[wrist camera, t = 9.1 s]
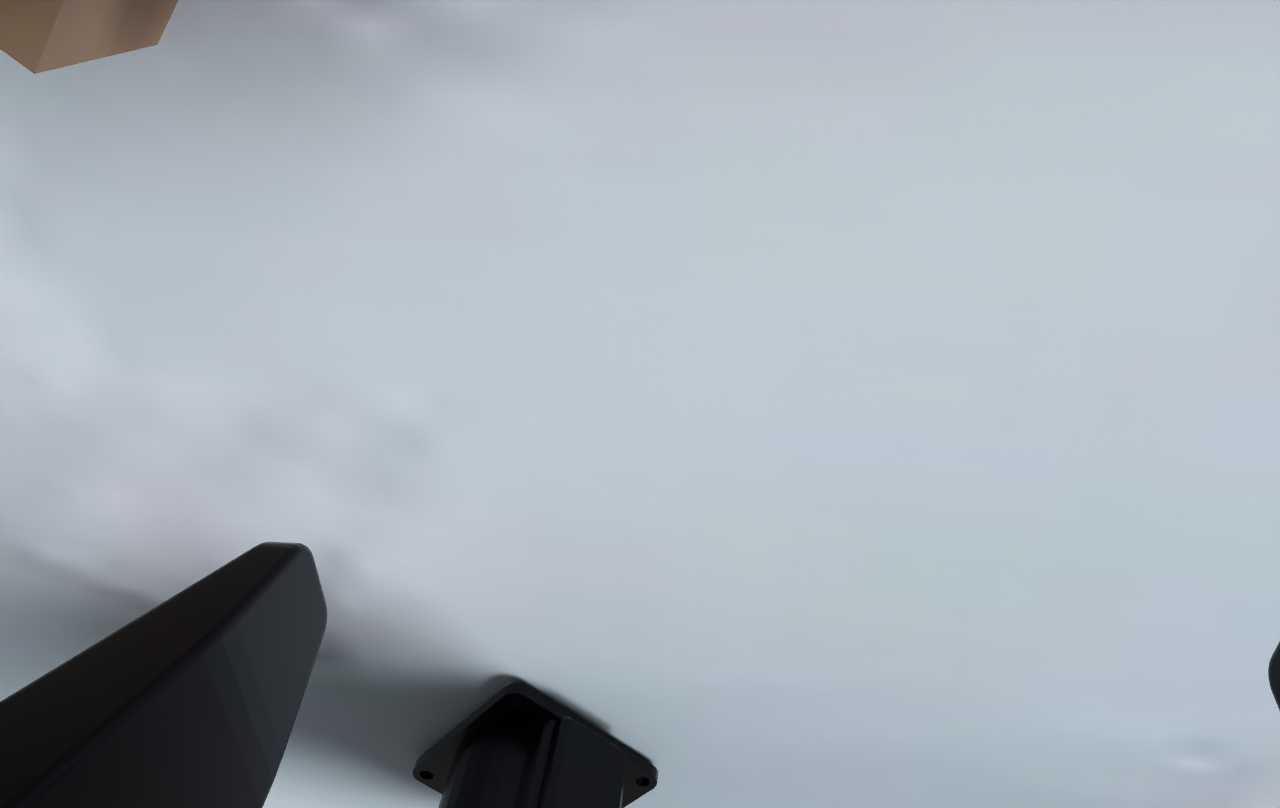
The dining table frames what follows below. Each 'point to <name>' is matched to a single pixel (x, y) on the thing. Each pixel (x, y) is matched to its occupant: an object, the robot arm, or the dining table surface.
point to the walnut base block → (78, 29)
